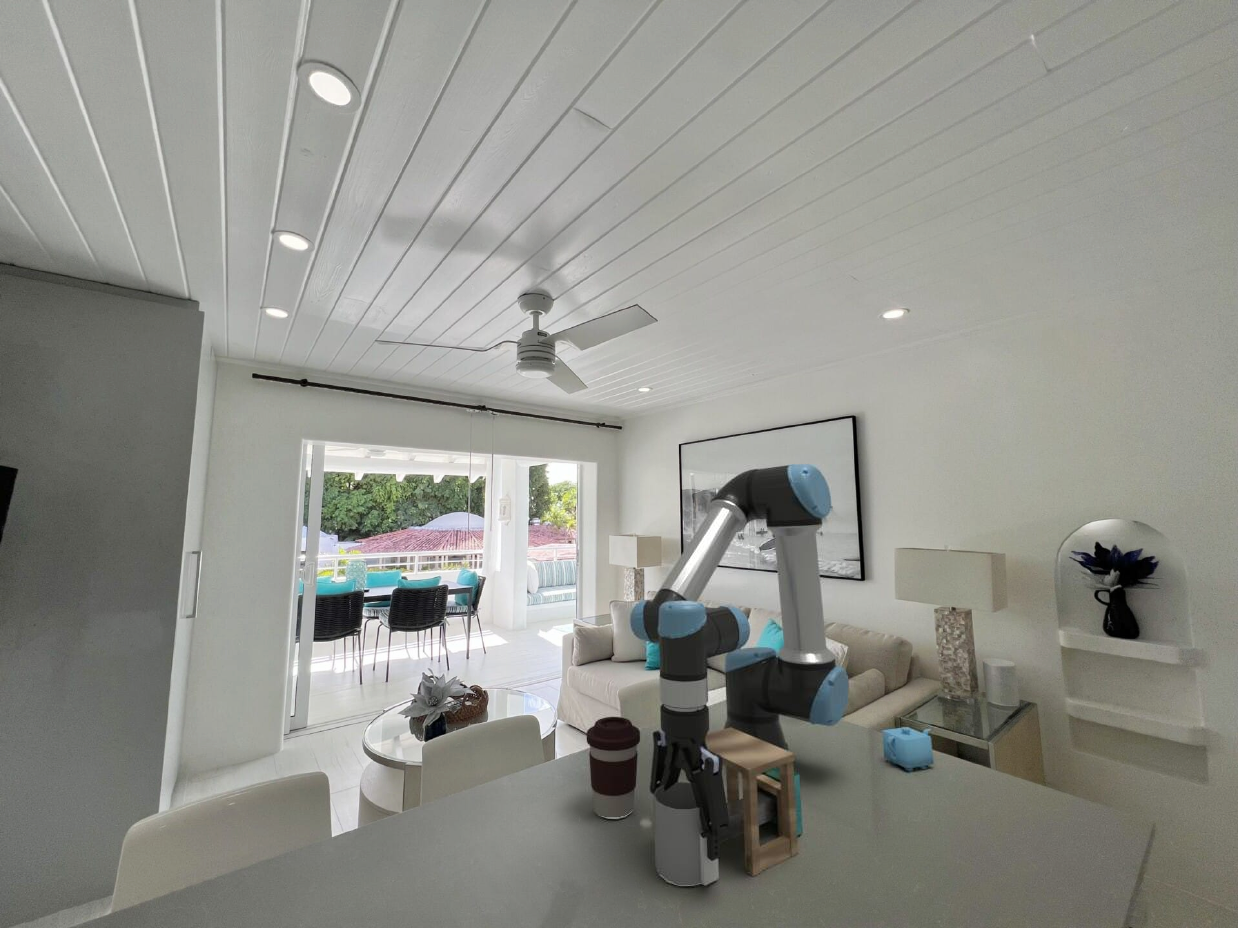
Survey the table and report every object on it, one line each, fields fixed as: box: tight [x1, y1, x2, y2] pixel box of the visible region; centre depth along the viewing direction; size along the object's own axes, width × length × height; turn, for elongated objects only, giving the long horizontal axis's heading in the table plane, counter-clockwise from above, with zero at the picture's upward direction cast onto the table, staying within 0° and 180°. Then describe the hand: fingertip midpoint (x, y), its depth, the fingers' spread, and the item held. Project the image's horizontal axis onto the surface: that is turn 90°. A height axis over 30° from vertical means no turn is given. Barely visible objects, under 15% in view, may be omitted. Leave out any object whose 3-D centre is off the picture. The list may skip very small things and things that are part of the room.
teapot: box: [881, 726, 934, 772], centre depth 111 cm, size 12×6×8 cm, turn 107°
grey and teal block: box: [720, 766, 803, 844], centre depth 83 cm, size 18×8×9 cm, turn 123°
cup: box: [653, 781, 711, 885], centre depth 76 cm, size 8×8×10 cm
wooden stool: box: [693, 727, 799, 877], centre depth 84 cm, size 14×13×14 cm
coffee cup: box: [586, 716, 641, 817], centre depth 93 cm, size 10×10×15 cm
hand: (688, 863), depth 76 cm, fingers closed on cup, 8 cm apart
